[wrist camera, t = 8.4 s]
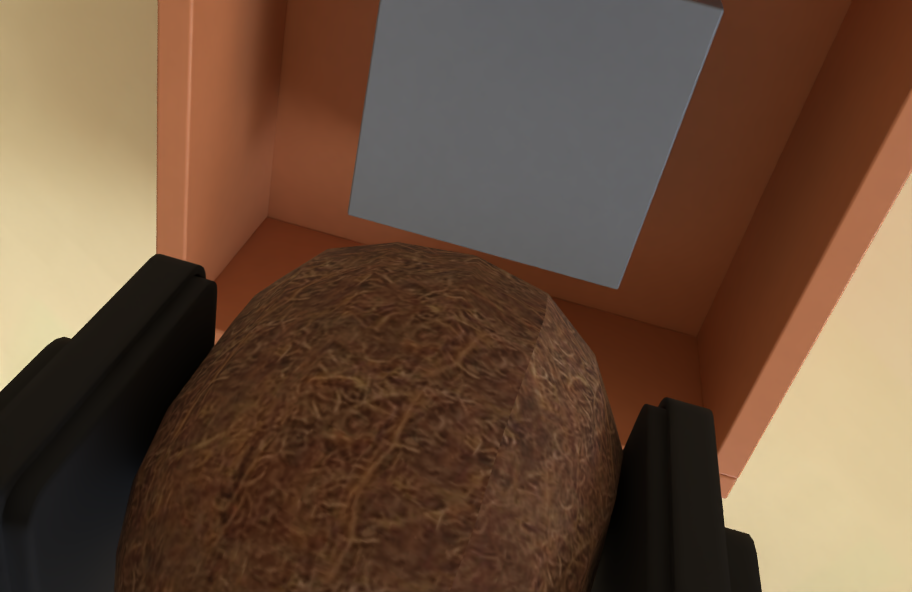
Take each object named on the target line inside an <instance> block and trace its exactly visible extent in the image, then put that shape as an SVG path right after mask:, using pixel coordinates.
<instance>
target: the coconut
mask: <svg viewBox="0 0 912 592" xmlns="http://www.w3.org/2000/svg"><path fill="white" fill-rule="evenodd" d="M623 454H624V453H623V450H622V446H621V442H620V439H619V435H618V431H617V427H616V424H615V420H614V416H613V413H612V410H611V406H610V403H609V400H608V396H607V393H606V390H605V386H604V383H603V380H602V376H601V373H600V369H599V366H598V363H597V359H596V356H595V354H594V353H593V351H592V350H591V349H590V347H589V346H588V345H587V343H586V342H585V341H584V340H583V338H582V337H581V336H580V334H579V333H578V332H577V330H576V329H575V328H574V327H573V325H572V324H571V323H570V321H569V320H568V319H567V317H566V316H565V315H564V313H563V312H562V311H561V310H560V308H559V307H558V306H557V304H556V303H555V302H554V300H553V299H552V298H551V297H550V295H549V294H548V293H546V292H545V291H543V290H541V289H539V288H537V287H535V286H533V285H531V284H529V283H528V282H526V281H524V280H522V279H520V278H518V277H516V276H514V275H512V274H510V273H509V272H507V271H505V270H503V269H501V268H499V267H497V266H495V265H493V264H491V263H490V262H488V261H486V260H484V259H482V258H480V257H478V256H475V255H471V254H465V253H459V252H453V251H447V250H442V249H436V248H430V247H424V246H418V245H412V244H407V243H401V242H393V243H383V244H373V245H363V246H352V247H342V248H332V249H327V250H325V251H323V252H322V253H320V254H319V255H317V256H315V257H314V258H312V259H311V260H309V261H307V262H306V263H304V264H302V265H301V266H299V267H298V268H296V269H294V270H293V271H291V272H290V273H288V274H286V275H285V276H283V277H282V278H280V279H278V280H277V281H275V282H274V283H272V284H271V285H269V286H268V287H266V288H265V289H263V290H262V291H260V292H259V293H257V294H256V295H255V296H254V297H253V298H252V299H251V300H250V302H249V303H248V304H247V305H246V306H245V308H244V309H243V310H242V311H241V312H240V313H239V315H238V316H237V317H236V318H235V319H234V321H233V322H232V323H231V324H230V326H229V327H228V328H227V330H226V331H225V332H224V334H223V335H222V336H221V338H220V339H219V340H218V342H217V343H216V344H215V346H214V347H213V348H212V350H211V351H210V353H209V354H208V355H207V357H206V358H205V359H204V361H203V362H202V363H201V365H200V366H199V367H198V369H197V370H196V371H195V373H194V374H193V375H192V377H191V378H190V379H189V381H188V382H187V383H186V385H185V386H184V387H183V389H182V390H181V391H180V393H179V394H178V395H177V397H176V398H175V399H174V401H173V402H172V403H171V405H170V406H169V407H168V409H167V411H166V413H165V415H164V417H163V419H162V421H161V424H160V426H159V428H158V430H157V432H156V434H155V436H154V438H153V440H152V442H151V444H150V446H149V448H148V451H147V453H146V455H145V457H144V459H143V461H142V463H141V465H140V467H139V469H138V471H137V473H136V476H135V478H134V480H133V482H132V486H131V490H130V495H129V499H128V503H127V508H126V512H125V516H124V521H123V525H122V530H121V534H120V538H119V543H118V547H117V551H116V566H115V584H114V592H591V590H592V586H593V583H594V579H595V576H596V572H597V569H598V566H599V562H600V558H601V554H602V550H603V546H604V543H605V539H606V535H607V531H608V527H609V523H610V519H611V515H612V512H613V508H614V504H615V500H616V495H617V489H618V483H619V477H620V471H621V465H622V460H623Z"/></svg>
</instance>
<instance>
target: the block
mask: <svg viewBox="0 0 912 592" xmlns="http://www.w3.org/2000/svg"><path fill="white" fill-rule="evenodd" d="M723 13H724V8H723V5H722V1H721V0H380V1H379V8H378V14H377V21H376V28H375V34H374V41H373V47H372V54H371V61H370V67H369V74H368V80H367V87H366V94H365V100H364V107H363V113H362V120H361V127H360V133H359V140H358V146H357V153H356V160H355V166H354V173H353V179H352V186H351V193H350V199H349V206H348V215H351V216H355V217H358V218H362V219H365V220H369V221H373V222H376V223H380V224H383V225H387V226H390V227H394V228H398V229H401V230H405V231H408V232H412V233H416V234H419V235H423V236H426V237H430V238H434V239H437V240H441V241H444V242H448V243H451V244H455V245H459V246H462V247H466V248H469V249H473V250H477V251H480V252H484V253H487V254H491V255H494V256H498V257H502V258H505V259H509V260H512V261H516V262H520V263H523V264H527V265H530V266H534V267H538V268H541V269H545V270H548V271H552V272H555V273H559V274H563V275H566V276H570V277H573V278H577V279H581V280H584V281H588V282H591V283H595V284H598V285H602V286H606V287H609V288H613V289H618V288H619V286H620V283H621V280H622V278H623V275H624V273H625V270H626V267H627V265H628V262H629V259H630V257H631V254H632V252H633V249H634V246H635V244H636V241H637V238H638V236H639V233H640V231H641V228H642V225H643V223H644V220H645V217H646V215H647V212H648V210H649V207H650V204H651V202H652V199H653V196H654V194H655V191H656V189H657V186H658V183H659V181H660V178H661V175H662V173H663V170H664V168H665V165H666V162H667V160H668V157H669V154H670V152H671V149H672V147H673V144H674V141H675V139H676V136H677V133H678V131H679V128H680V126H681V123H682V120H683V118H684V115H685V112H686V110H687V107H688V104H689V102H690V99H691V97H692V94H693V91H694V89H695V86H696V83H697V81H698V78H699V76H700V73H701V70H702V68H703V65H704V62H705V60H706V57H707V55H708V52H709V49H710V47H711V44H712V41H713V39H714V36H715V34H716V31H717V28H718V26H719V23H720V20H721V18H722V15H723Z"/></svg>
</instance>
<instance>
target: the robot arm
mask: <svg viewBox="0 0 912 592" xmlns="http://www.w3.org/2000/svg"><path fill="white" fill-rule="evenodd" d="M216 310H217V284H216V282H214V281H212V280H208V279H206V273H205V269H204V267H202V266H201V265H198V264H195V263H191V262H187V261H184V260H180V259H177V258H173V257H170V256H166V255H163V254H155V255H154V256H153V257H151V258H150V259H149V260H148V261H147V262H146V263H145V264H144V265H143V266H142V267H141V268H140V269H139V270H138V271H137V272H136V273H135V274H134V276H133V277H132V278H131V279H130V280H129V281H128V282H127V283H126V284H125V285H124V286H123V287H122V288H121V289H120V290H119V291H118V292H117V293H116V294H115V295H114V296H113V297H112V298H111V299H110V300H109V301H108V302H107V303H106V304H105V305H104V306H103V307H102V308H101V309H100V310H99V311H98V312H97V313H96V314H95V315H94V316H93V318H92V319H91V320H90V321H89V322H88V323H87V324H86V325H85V326H84V327H83V328H82V329H81V330H80V331H79V332H78V333H77V334H76V335H75V336H74V337H73V338H72V339H70V338H67V337H62V338H58V339H55V340H54V341H53V342H51V343H50V344H49V345H47V346H46V347H45V348H44V349H43V350H42V351H41V352H40V353H39V354H38V355H37V356H36V357H35V358H34V359H33V360H32V361H31V362H30V363H29V364H28V365H27V366H26V367H25V368H24V369H23V370H22V371H21V372H20V373H19V374H18V375H17V376H16V377H15V378H14V379H13V380H12V381H11V382H10V383H9V384H8V385H7V386H6V387H5V388H4V389H3V390H2V391H1V392H0V592H114V584H115V566H116V551H117V547H118V543H119V538H120V534H121V530H122V525H123V521H124V516H125V512H126V508H127V503H128V499H129V495H130V490H131V486H132V482H133V480H134V478H135V476H136V473H137V471H138V469H139V467H140V465H141V463H142V461H143V459H144V457H145V455H146V453H147V451H148V448H149V446H150V444H151V442H152V440H153V438H154V436H155V434H156V432H157V430H158V428H159V426H160V424H161V421H162V419H163V417H164V415H165V413H166V411H167V409H168V407H169V406H170V405H171V403H172V402H173V401H174V399H175V398H176V397H177V395H178V394H179V393H180V391H181V390H182V389H183V387H184V386H185V385H186V383H187V382H188V381H189V379H190V378H191V377H192V375H193V374H194V373H195V371H196V370H197V369H198V367H199V366H200V365H201V363H202V362H203V361H204V359H205V358H206V357H207V355H208V354H209V353H210V351H211V350H212V348H213V347H214V346H215V328H216ZM623 453H624V454H623V460H622V465H621V471H620V477H619V483H618V489H617V495H616V500H615V504H614V508H613V512H612V515H611V519H610V523H609V527H608V531H607V535H606V539H605V543H604V546H603V550H602V554H601V558H600V562H599V566H598V569H597V572H596V576H595V579H594V583H593V586H592V590H591V592H762V589H761V582H760V575H759V567H758V560H757V553H756V549H755V545H754V541H753V539H752V538H751V537H750V535H749V534H746V533H743V532H739V531H736V530H732V529H729V528H725V526H724V516H723V506H722V496H721V486H720V476H719V466H718V456H717V446H716V436H715V426H714V417H713V413H712V411H711V410H710V409H707V408H704V407H700V406H697V405H693V404H690V403H686V402H683V401H679V400H676V399H672V398H669V397H665V398H663V400H662V401H661V402H660V404H659V406H658V407H656V406H653V405H649V404H644V406H643V407H642V409H641V411H640V413H639V415H638V417H637V420H636V422H635V424H634V426H633V429H632V431H631V433H630V435H629V438H628V440H627V442H626V444H625V447H624V449H623Z"/></svg>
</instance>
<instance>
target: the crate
mask: <svg viewBox="0 0 912 592" xmlns="http://www.w3.org/2000/svg"><path fill="white" fill-rule="evenodd" d="M379 1H380V0H158V56H157V236H156V254H163V255H166V256H170V257H173V258H177V259H180V260H184V261H187V262H191V263H195V264H198V265H201V266H202V267H204V269H205V273H206V279H208V280H212V281H214V282H216V284H217V310H216V328H215V344H216V343H217V342H218V340H219V339H220V338H221V336H222V335H223V334H224V332H225V331H226V330H227V328H228V327H229V326H230V324H231V323H232V322H233V321H234V319H235V318H236V317H237V316H238V315H239V313H240V312H241V311H242V310H243V309H244V308H245V306H246V305H247V304H248V303H249V302H250V300H251V299H252V298H253V297H254V296H255V295H256V294H257V293H259V292H260V291H262V290H263V289H265V288H266V287H268V286H269V285H271V284H272V283H274V282H275V281H277V280H278V279H280V278H282V277H283V276H285V275H286V274H288V273H290V272H291V271H293V270H294V269H296V268H298V267H299V266H301V265H302V264H304V263H306V262H307V261H309V260H311V259H312V258H314V257H315V256H317V255H319V254H320V253H322V252H323V251H325V250H327V249H332V248H342V247H352V246H363V245H373V244H383V243H393V242H401V243H407V244H412V245H418V246H424V247H430V248H436V249H442V250H447V251H453V252H459V253H465V254H471V255H475V256H478V257H480V258H482V259H484V260H486V261H488V262H490V263H491V264H493V265H495V266H497V267H499V268H501V269H503V270H505V271H507V272H509V273H510V274H512V275H514V276H516V277H518V278H520V279H522V280H524V281H526V282H528V283H529V284H531V285H533V286H535V287H537V288H539V289H541V290H543V291H545V292H546V293H548V294H549V295H550V297H551V298H552V299H553V300H554V302H555V303H556V304H557V306H558V307H559V308H560V310H561V311H562V312H563V313H564V315H565V316H566V317H567V319H568V320H569V321H570V323H571V324H572V325H573V327H574V328H575V329H576V330H577V332H578V333H579V334H580V336H581V337H582V338H583V340H584V341H585V342H586V343H587V345H588V346H589V347H590V349H591V350H592V351H593V353H594V354H595V356H596V359H597V363H598V366H599V369H600V373H601V376H602V380H603V383H604V386H605V390H606V393H607V396H608V400H609V403H610V406H611V410H612V413H613V416H614V420H615V424H616V427H617V431H618V435H619V439H620V442H621V446H622V450H623V449H624V447H625V444H626V442H627V440H628V438H629V435H630V433H631V431H632V429H633V426H634V424H635V422H636V420H637V417H638V415H639V413H640V411H641V409H642V407H643V406H644V404H649V405H653V406H656V407H658V406H659V404H660V402H661V401H662V400H663V398H665V397H669V398H672V399H676V400H679V401H683V402H686V403H690V404H693V405H697V406H700V407H704V408H707V409H710V410H711V411H712V413H713V417H714V426H715V436H716V446H717V456H718V466H719V476H720V486H721V496H722V498H727V496H728V494H729V493H730V491H731V489H732V487H733V486H734V484H735V482H736V480H737V478H738V477H739V476H740V474H741V472H742V471H743V469H744V467H745V465H746V464H747V462H748V460H749V458H750V456H751V455H752V453H753V451H754V449H755V448H756V446H757V444H758V442H759V441H760V439H761V437H762V435H763V433H764V432H765V430H766V428H767V426H768V425H769V423H770V421H771V419H772V418H773V416H774V414H775V412H776V410H777V409H778V407H779V405H780V403H781V402H782V400H783V398H784V396H785V395H786V393H787V391H788V389H789V387H790V386H791V384H792V382H793V380H794V379H795V377H796V375H797V373H798V372H799V370H800V368H801V366H802V364H803V363H804V361H805V359H806V357H807V356H808V354H809V352H810V350H811V349H812V347H813V345H814V343H815V341H816V340H817V338H818V336H819V334H820V333H821V331H822V329H823V327H824V326H825V324H826V322H827V320H828V318H829V317H830V315H831V313H832V311H833V310H834V308H835V306H836V304H837V303H838V301H839V299H840V297H841V295H842V294H843V292H844V290H845V288H846V287H847V285H848V283H849V281H850V280H851V278H852V276H853V274H854V272H855V271H856V269H857V267H858V265H859V264H860V262H861V260H862V258H863V257H864V255H865V253H866V251H867V249H868V248H869V246H870V244H871V242H872V241H873V239H874V237H875V235H876V234H877V232H878V230H879V228H880V226H881V225H882V223H883V221H884V219H885V218H886V216H887V214H888V212H889V211H890V209H891V207H892V205H893V203H894V202H895V200H896V198H897V196H898V195H899V193H900V191H901V189H902V188H903V186H904V184H905V182H906V180H907V179H908V177H909V175H910V173H911V172H912V0H721V1H722V5H723V8H724V13H723V15H722V18H721V20H720V23H719V26H718V28H717V31H716V34H715V36H714V39H713V41H712V44H711V47H710V49H709V52H708V55H707V57H706V60H705V62H704V65H703V68H702V70H701V73H700V76H699V78H698V81H697V83H696V86H695V89H694V91H693V94H692V97H691V99H690V102H689V104H688V107H687V110H686V112H685V115H684V118H683V120H682V123H681V126H680V128H679V131H678V133H677V136H676V139H675V141H674V144H673V147H672V149H671V152H670V154H669V157H668V160H667V162H666V165H665V168H664V170H663V173H662V175H661V178H660V181H659V183H658V186H657V189H656V191H655V194H654V196H653V199H652V202H651V204H650V207H649V210H648V212H647V215H646V217H645V220H644V223H643V225H642V228H641V231H640V233H639V236H638V238H637V241H636V244H635V246H634V249H633V252H632V254H631V257H630V259H629V262H628V265H627V267H626V270H625V273H624V275H623V278H622V280H621V283H620V286H619V288H618V289H613V288H609V287H606V286H602V285H598V284H595V283H591V282H588V281H584V280H581V279H577V278H573V277H570V276H566V275H563V274H559V273H555V272H552V271H548V270H545V269H541V268H538V267H534V266H530V265H527V264H523V263H520V262H516V261H512V260H509V259H505V258H502V257H498V256H494V255H491V254H487V253H484V252H480V251H477V250H473V249H469V248H466V247H462V246H459V245H455V244H451V243H448V242H444V241H441V240H437V239H434V238H430V237H426V236H423V235H419V234H416V233H412V232H408V231H405V230H401V229H398V228H394V227H390V226H387V225H383V224H380V223H376V222H373V221H369V220H365V219H362V218H358V217H355V216H351V215H348V206H349V199H350V193H351V186H352V179H353V173H354V166H355V160H356V153H357V146H358V140H359V133H360V127H361V120H362V113H363V107H364V100H365V94H366V87H367V80H368V74H369V67H370V61H371V54H372V47H373V41H374V34H375V28H376V21H377V14H378V8H379Z"/></svg>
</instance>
